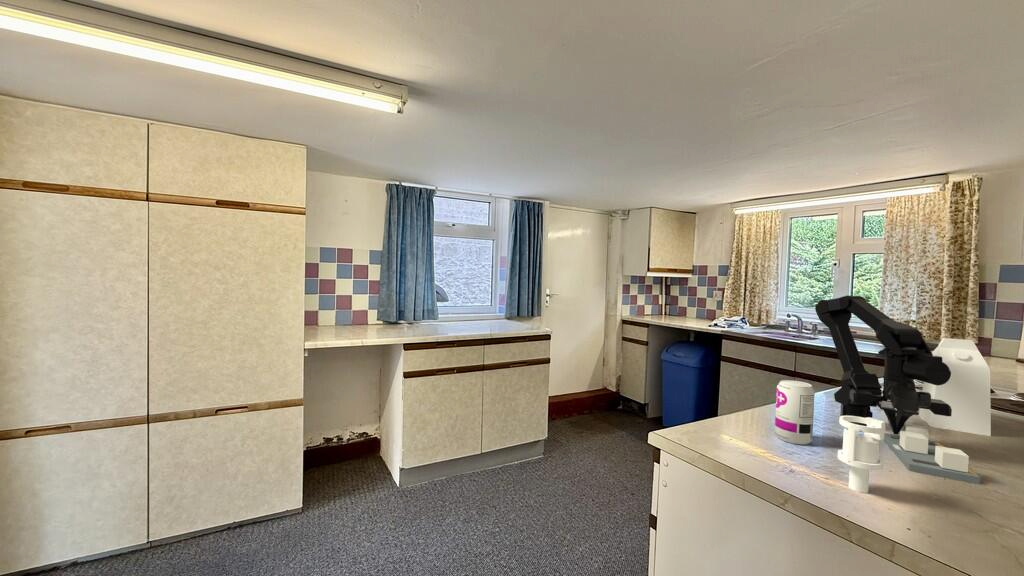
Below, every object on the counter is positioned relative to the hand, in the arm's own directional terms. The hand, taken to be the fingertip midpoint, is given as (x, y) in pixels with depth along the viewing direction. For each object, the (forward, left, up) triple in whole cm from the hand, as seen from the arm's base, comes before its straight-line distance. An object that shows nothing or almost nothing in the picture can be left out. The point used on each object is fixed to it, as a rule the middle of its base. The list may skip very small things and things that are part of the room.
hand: (895, 434), depth 107 cm
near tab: (+5, -16, -1) cm, 17 cm away
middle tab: (+1, -8, -1) cm, 8 cm away
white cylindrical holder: (-14, -36, -3) cm, 39 cm away
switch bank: (+3, -8, -2) cm, 9 cm away
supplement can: (-23, -12, -3) cm, 26 cm away
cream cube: (+4, 0, -1) cm, 4 cm away
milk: (+20, +29, -3) cm, 35 cm away
